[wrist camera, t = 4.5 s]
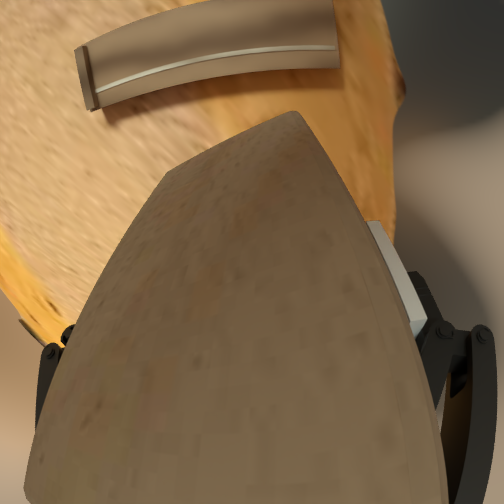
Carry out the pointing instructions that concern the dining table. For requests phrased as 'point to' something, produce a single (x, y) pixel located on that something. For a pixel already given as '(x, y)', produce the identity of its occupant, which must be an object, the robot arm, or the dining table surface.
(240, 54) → the curved panel
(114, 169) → the dining table surface
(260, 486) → the wooden block
